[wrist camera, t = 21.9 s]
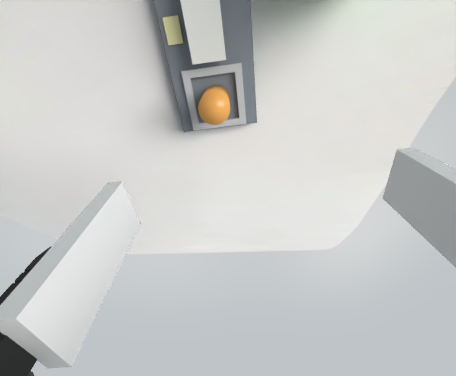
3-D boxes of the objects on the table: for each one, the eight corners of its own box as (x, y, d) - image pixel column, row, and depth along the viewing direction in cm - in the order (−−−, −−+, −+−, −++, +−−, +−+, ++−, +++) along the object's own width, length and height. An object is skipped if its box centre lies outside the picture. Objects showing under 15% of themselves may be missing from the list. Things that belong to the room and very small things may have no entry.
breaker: (178, -17, 25) (176, -19, 24) (217, -23, 25) (216, -25, 24) (193, 62, 30) (192, 64, 29) (226, 58, 30) (226, 59, 29)
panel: (133, -102, 25) (122, -121, 22) (241, -123, 24) (243, -144, 21) (185, 128, 38) (182, 134, 36) (255, 119, 38) (257, 124, 35)
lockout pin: (200, 86, 33) (195, 94, 27) (227, 82, 33) (227, 89, 27) (205, 113, 35) (201, 127, 29) (230, 110, 35) (231, 122, 29)
